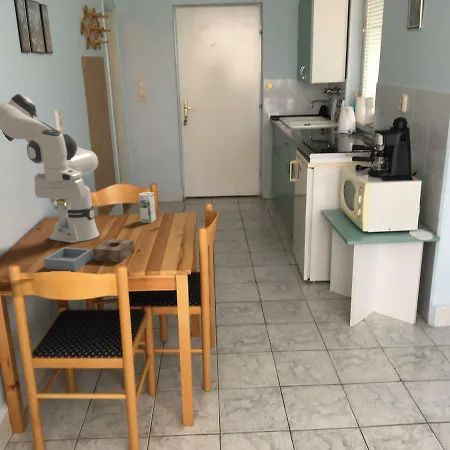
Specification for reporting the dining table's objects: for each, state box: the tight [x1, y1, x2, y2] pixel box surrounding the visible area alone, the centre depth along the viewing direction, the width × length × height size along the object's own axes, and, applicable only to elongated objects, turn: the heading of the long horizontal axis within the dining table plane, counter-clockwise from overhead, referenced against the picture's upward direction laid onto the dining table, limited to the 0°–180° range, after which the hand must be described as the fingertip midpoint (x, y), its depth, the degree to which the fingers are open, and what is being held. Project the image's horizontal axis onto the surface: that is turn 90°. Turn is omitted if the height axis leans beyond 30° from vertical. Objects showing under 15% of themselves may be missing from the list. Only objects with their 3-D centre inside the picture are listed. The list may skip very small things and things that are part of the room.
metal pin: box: [55, 198, 70, 229], centre depth 189 cm, size 4×4×11 cm
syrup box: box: [138, 191, 157, 224], centre depth 245 cm, size 6×6×14 cm
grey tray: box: [43, 246, 94, 272], centre depth 195 cm, size 13×13×4 cm
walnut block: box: [92, 238, 135, 263], centre depth 201 cm, size 12×12×5 cm
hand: (62, 209), depth 189 cm, fingers closed on metal pin, 3 cm apart
